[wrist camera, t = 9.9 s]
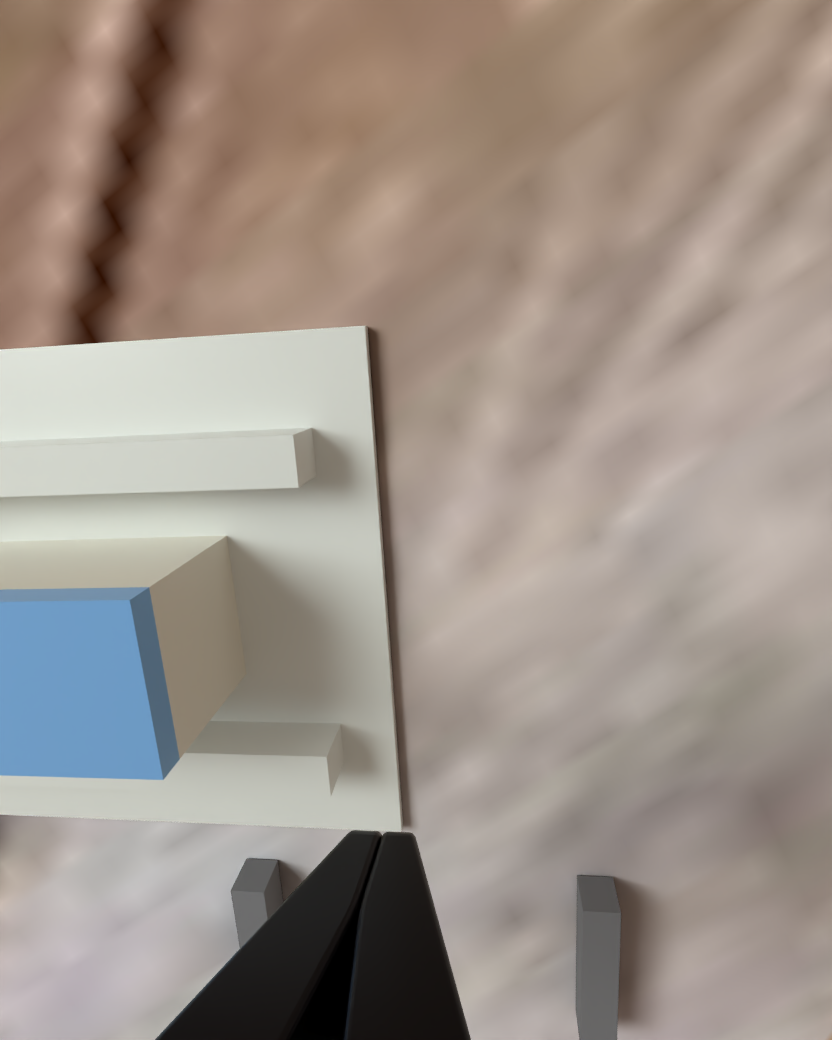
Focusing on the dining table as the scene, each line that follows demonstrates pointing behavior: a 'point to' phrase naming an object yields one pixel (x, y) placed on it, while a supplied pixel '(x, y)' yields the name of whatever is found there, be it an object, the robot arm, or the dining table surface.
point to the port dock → (253, 555)
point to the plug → (113, 653)
